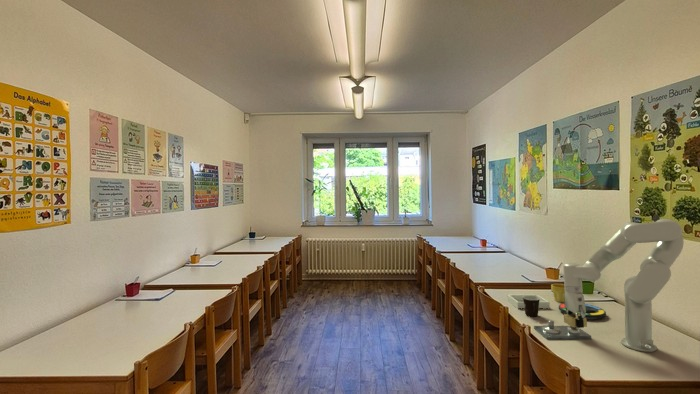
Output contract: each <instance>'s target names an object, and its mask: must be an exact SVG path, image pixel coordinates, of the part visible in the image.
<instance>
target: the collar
mask: <svg viewBox="0 0 700 394" xmlns="http://www.w3.org/2000/svg"><path fill="white" fill-rule="evenodd" d="M578 316H580V315H579V314H578ZM576 319H577V317H576V314H575V313H573V314H564V313H563V322H564V324H566V325H567V326H571V327H576ZM583 321H584V328H585V327H588V319H587V318H584V320H583Z"/></svg>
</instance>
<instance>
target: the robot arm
mask: <svg viewBox="0 0 700 394" xmlns="http://www.w3.org/2000/svg"><path fill="white" fill-rule="evenodd" d="M684 242H685V241H684V236H683V227H682V226H681V225H680V224H679V222H676V221H674V220H672V219H670V218H660V219H658V220H656V221H653V222H652V221H651V222H645V223H637V222H633V221H632V222H627V223H625V224H623V225H622V226H621V227H620V228H619V229H618V231H616V232H615V233H614V235H613V236H611V237H610V238H609V240H607V241H606V242H605V243H604V244H603V245H602V246H600V248H599V249H597V251H596V252H594V254H593V255H591V256H590V257H589V258H588V259H587V260H586V262H584V264H583V265H580V264H579V263H575V262H574V263H573V262H568V263H564V265H563V281H564V282H563V283H564V286H565V302H564V303H565V304H564V305H565V307H566V308H565V309H566V313H567V314H573V313H575V314H576V317H577V319H576V327H577V328H580V329H582V328H585V327H584V321H583V320H584V318H585V315H586V308H585V304H586V302H585V297H584V293H583V281H587V282H596V281H598V280H599V279H600V278H601V275H602V274H601V272H602V271H603V270H605V268H606V267H608V266H609V265H610V264H611V263H612V262H614V261H616V260H620V259H621V258H623V257H624V256H625V255H626V254H627V253H628V252H629V251H630V250H631V249H632V248H634V247H635V246H636V245H637V244H645V243H646V244H647V243H656V244H655V246H654V247H653V248H652V250H651V251H650V252H649V253H648V255H647V256H646V257H645V259H643V260H642V261H641V263H640V266H639V269H640V271H638V273H637V275H634V276H630V277H628V278H627V279H626V280H625V281H624V283H623V292H624V295H623V296H624V335H625V337H624V338H622V339H621V340H620V342H621V345H623V346H624V347H626V348H628V349H631V350H634V351H638V352H645V353H651V352H656V351H657V349H658V346H657V345H656V344H655V343H654V340H653V323H652V322H653V317H652V315H653V308H652V307H653V306H652V301H653V300H654V299H655V298H656V297H657V296H658V294H659V293H660V292H661V291H662V290H663V288H665V286H666V284H668V282H669V281H670V279H671V276H672V272H671V271H672V270H671V269H670V268H671V267H672V265H673V264H674V263H675V262H676V260H677V258H678V257H680V255H681V253H682V251H683V248H684ZM577 312H580V313H577ZM578 314H580V316H578Z"/></svg>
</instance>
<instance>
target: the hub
mask: <svg viewBox="0 0 700 394" xmlns="http://www.w3.org/2000/svg"><path fill="white" fill-rule="evenodd" d="M541 326H542V329H543V330H544V331H546V332H549V333H560V328H559V327H556V326H557V325H555V321H554V320H551V319H550V320H549V319H548V324H545V325H541Z"/></svg>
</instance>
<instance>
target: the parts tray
mask: <svg viewBox="0 0 700 394" xmlns="http://www.w3.org/2000/svg"><path fill="white" fill-rule="evenodd" d="M523 296H535V297H538V298H540V300H539V308H543V309H544V310H546V308H548V309H549V308H550V305H551V303H550V301H548V300H547V299H545V298H543V297H542V296H540V295H539V294H534V293H533V294H530V293H529V294H528V293H527V294H506V301H507V300H508V301H509V302H510V303H509V302H508V301H507V302H508V303H509V304H510V305H512V304H513V305H514V306H515V307H514V306H513V305H512V306H513V307H514V308H516V309H517V308H521V309H520V310H523V309H522V308H524V301H523ZM543 309H542V310H543ZM550 309H551V308H550Z"/></svg>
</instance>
